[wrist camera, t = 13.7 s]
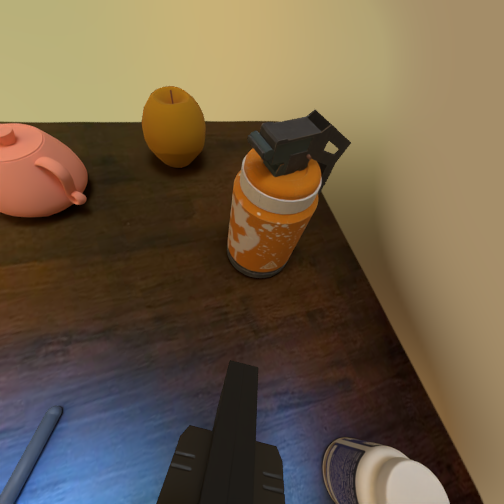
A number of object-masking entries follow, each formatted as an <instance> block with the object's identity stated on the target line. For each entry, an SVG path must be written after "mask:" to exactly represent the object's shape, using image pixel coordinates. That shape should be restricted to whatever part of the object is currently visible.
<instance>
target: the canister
mask: <svg viewBox="0 0 504 504" xmlns="http://www.w3.org/2000/svg"><path fill="white" fill-rule="evenodd" d="M328 141H330V142H331V143H332V144H334V145H335V146H336V147H337V148H338V149H339V150H338V151H337V152H336V153H335V154H331V153H329V152H326V151H324V148H325V146H326V144H327V143H328ZM248 142H249V143H250V145H251V146H252V147H253V149H251V151H250V152H249V153H248V154H247V155H246V156H245V158H244V160H243V163H242V169H241V171H240V172H239V173H238V174H237V176H236V178H235V181H234V188H233V197H232V206H231V215H230V224H229V232H228V241H227V254H228V258H229V260H230V262H231V263H232V265H233V266H234V267H235V268H236V269H237V270H238V271H240V272H241V273H243V274H245V275H247V276H250V277H254V278H266V277H271V276H273V275H275V274H277V273H279V272H280V271H281V270H282V269H283V268H284V266H285V265H286V263H287V261H288V259H289V257H290V255H291V253H292V252H293V250H294V248H295V246H296V244H297V242H298V241H299V239H300V237H301V235H302V233H303V231H304V229H305V228H306V226H307V224H308V222H309V220H310V218H311V216H312V215H313V213H314V211H315V209H316V207H317V204H318V196H319V194H320V192H321V190H322V188H323V186H324V185H325V182H326V181H327V179H328V176H329V175H330V173H331V171H332V169H333V167H334V165H335V163H336V162H337V160H338V159H339V158H340V156H341V155H342V154H343V153H344V151H345V150H346V149H347V147H348V146H349V145H350V144H351V142H350V141H349V140H348V139H347V138H345V137H344V136H343V135H342V134H341V133H340V132H339V131H338V130H337V129H336V128H335V127H334V126H332V124H330V123H329V122H328V121H327V120H326V119H325V118H324V117H323V116H321V114H319V113H318V112H317V111H316V110H314V111H313V112H311V113H310V114H309V115H308V116H306V117H302V118H297V119H292V120H287V121H283V122H277V123H273V122H268V123H263V124H262V125H261V129H260V134H259V133H258V132H257V131H254V132H252V133H251V134H250V135H248Z"/></svg>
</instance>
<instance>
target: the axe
mask: <svg viewBox="0 0 504 504" xmlns="http://www.w3.org/2000/svg"><path fill="white" fill-rule="evenodd" d="M61 413H62V409H61V407H59V406H53V407H51V408H50V409H48V411H47V412H46V414H45V416H44V418H43V419H42V421H41V423H40V425H39V426H38V428H37V430H36V432H35V434H34V435H33V437H32V439H31V441H30V443H29V444H28V446H27V448H26V450H25V452H24V453H23V455H22V457H21V459H20V461H19V462H18V464H17V466H16V468H15V470H14V471H13V473H12V475H11V477H10V479H9V480H8V482H7V484H6V486H5V488H4V489H3V491H2V493H1V495H0V504H14V502H15V500H16V499H17V497H18V495H19V493H20V491H21V489H22V487H23V485H24V483H25V481H26V480H27V478H28V476H29V474H30V472H31V470H32V468H33V466H34V464H35V463H36V461H37V459H38V457H39V455H40V453H41V451H42V449H43V447H44V445H45V444H46V442H47V440H48V438H49V436H50V434H51V432H52V430H53V428H54V426H55V425H56V423H57V421H58V419H59V417H60V415H61Z"/></svg>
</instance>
